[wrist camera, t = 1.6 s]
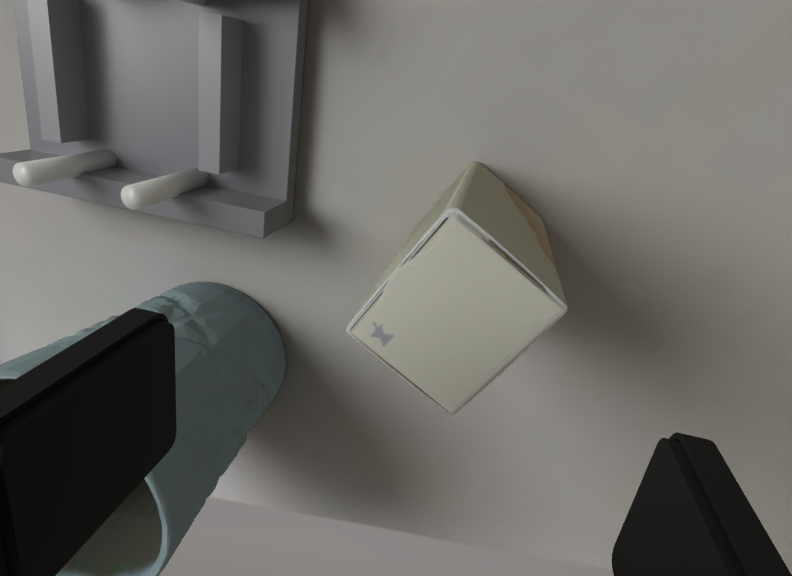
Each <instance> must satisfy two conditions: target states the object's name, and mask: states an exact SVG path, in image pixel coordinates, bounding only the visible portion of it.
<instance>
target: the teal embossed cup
mask: <svg viewBox="0 0 792 576" xmlns="http://www.w3.org/2000/svg"><path fill="white" fill-rule="evenodd" d="M136 308H140V309H145V310H149V311H153V312H158V313H162V314H164V315H165V316H166V317H167V319H168V322H169V323H171V324H173V326H174V330H175V374H176V429H177V432H176V438H175V441H174V444H173V446H172V448H171V449H170V451H169V452H168V453H167V454H166V455H165V456H164V457H163V459H162V460H161V461H160V462H159V463H158V464H157V465H156V466H155V467H154V468H153V469H152V471H151V472H150V473H149V474H148V475H147V476H146V477H145V478H144V479H143V480H142V482H141V483H140V484H139V485H138V486H137V487H136V488H135V489H134V490H133V491H132V492H131V494H130V495H129V496H128V497H127V498H126V499H125V500H124V501H123V502H122V503H121V505H120V506H119V507H118V508H117V509H116V510H115V511H114V512H113V513H112V514H111V515H110V517H109V518H108V519H107V520H106V521H105V522H104V523H103V524H102V525H101V526H100V528H99V529H98V530H97V531H96V532H95V533H94V534H93V535H92V536H91V537H90V538H89V540H88V541H87V542H86V543H85V544H84V545H83V546H82V547H81V548H80V549H79V551H78V552H77V553H76V554H75V555H74V556H73V557H72V558H71V559H70V560H69V561H68V563H67V564H66V565H65V566H64V567H63V568H62V569H61V570H60V571H59V572H58V574H57V575H56V576H158V575H159V574H160V573H161V572H162V570H163V569H164V568H165V566H166V565H167V563H168V561H169V560H170V558H171V557H172V555H173V553H174V551H175V550H176V549H177V547H178V545H179V544H180V542H181V541H182V539H183V537H184V536H185V534H186V532H187V531H188V529H189V528H190V526H191V524H192V522H193V521H194V519H195V517H196V516H197V515H198V513H199V512H200V510H201V508H202V507H203V505H204V504H205V500H206V498H207V497H208V496H210V495H211V493H212V492H213V490H214V489H215V487H216V485H217V482H218V480H219V477H220V476H221V475H223V473H224V472H225V471H226V470H227V468H228V466H229V465H230V463H231V462H232V461H233V460H234V458H235V457H236V456H237V454H238V451H239V450H240V448H241V447H242V446H243V445H244V443H245V441H246V433H247V432H248V431H249V430H250V429H252V428H253V427H255V425H256V423H257V422H258V420H259V419H260V418H261V417H262V415H263V413H264V412H265V411H266V410H267V408H268V406H269V405H270V404H271V402H272V401H273V399H274V398H275V396H276V395H277V393H278V391H279V390H280V388H281V385H282V382H283V379H284V375H285V370H286V353H285V348H284V344H283V341H282V338H281V335H280V333H279V331H278V329H277V327H276V325H275V324H274V322H273V321H272V320H271V318H270V317H269V315H268V314H267V313H266V312H265V310H264V309H262V308H261V307H260V306H259V305H258V304H257V303H256V302H255V301H253V300H252V299H251V298H249V297H248V296H247V295H245V294H243V293H242V292H240V291H238V290H236V289H233V288H231V287H229V286H226V285H223V284H219V283H212V282H194V283H188V284H184V285H180V286H178V287H175V288H173V289H171V290H169V291H167V292H164V293H163V294H161V295H160V296H157V297H154V298H152V299H151V300H149V301H145V302H143V303H142V304H140V305H139V306H137V307H136ZM126 312H127V311H126ZM126 312H125V313H126ZM117 317H119V316H112V317H110V318H108V319H107V320H105V321H101V322H99V323H97V324H95V325H92V326H91V327H90V328H86V329H83V330H80V331H79V332H77V333H76V335H74V336H69V337H65V338H62V339H60V340H58V341H56V342H54V343H52V344H49V345H48V346H46V347H43V348H40V349H38V350H35V351H33V352H30V353H27V354H25V355H22V356H20V357H18V358H15V359H13V360H10V361H8V362H5V363H3V364H1V365H0V388H1V387H3V386H5V385H6V384H8V383H10V382H11V381H13V380H15V379H16V378H18V377H20V376H21V375H23V374H25V373H26V372H28V371H30V370H31V369H33V368H35V367H36V366H38V365H40V364H41V363H43V362H44V361H46V360H48V359H49V358H51V357H53V356H54V355H56V354H58V353H59V352H61V351H63V350H64V349H66V348H68V347H69V346H71V345H73V344H74V343H76V342H78V341H79V340H81V339H83V338H84V337H86V336H88V335H89V334H91V333H93V332H94V331H96V330H98V329H99V328H101V327H102V326H104V325H106V324H107V323H109V322H111V321H112V320H114V319H116V318H117Z"/></svg>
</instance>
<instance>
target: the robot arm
mask: <svg viewBox="0 0 792 576" xmlns="http://www.w3.org/2000/svg"><path fill="white" fill-rule="evenodd" d="M176 432H177V429H176V374H175V330H174V326H173V324H171V323H169V322H168V319H167V317H166V316H165V315H164V314H162V313H158V312H153V311H149V310H145V309H140V308H133V309H131V310H129V311H127V312H126V313H124V314H122V315H121V316H119V317H117V318H116V319H114V320H112V321H111V322H109V323H107V324H106V325H104V326H102V327H101V328H99V329H98V330H96V331H94V332H93V333H91V334H89V335H88V336H86V337H84V338H83V339H81V340H79V341H78V342H76V343H74V344H73V345H71V346H69V347H68V348H66V349H64V350H63V351H61V352H59V353H58V354H56V355H54V356H53V357H51V358H49V359H48V360H46V361H44V362H43V363H41V364H40V365H38V366H36V367H35V368H33V369H31V370H30V371H28V372H26V373H25V374H23V375H21V376H20V377H18V378H16V379H15V380H13V381H11V382H10V383H8V384H6V385H5V386H3V387H1V388H0V576H56V575H57V574H58V572H59V571H60V570H61V569H62V568H63V567H64V566H65V565H66V564H67V563H68V561H69V560H70V559H71V558H72V557H73V556H74V555H75V554H76V553H77V552H78V551H79V549H80V548H81V547H82V546H83V545H84V544H85V543H86V542H87V541H88V540H89V538H90V537H91V536H92V535H93V534H94V533H95V532H96V531H97V530H98V529H99V528H100V526H101V525H102V524H103V523H104V522H105V521H106V520H107V519H108V518H109V517H110V515H111V514H112V513H113V512H114V511H115V510H116V509H117V508H118V507H119V506H120V505H121V503H122V502H123V501H124V500H125V499H126V498H127V497H128V496H129V495H130V494H131V492H132V491H133V490H134V489H135V488H136V487H137V486H138V485H139V484H140V483H141V482H142V480H143V479H144V478H145V477H146V476H147V475H148V474H149V473H150V472H151V471H152V469H153V468H154V467H155V466H156V465H157V464H158V463H159V462H160V461H161V460H162V459H163V457H164V456H165V455H166V454H167V453H168V452H169V451H170V449H171V448H172V446H173V444H174V441H175V438H176ZM612 568H613V573H614V576H792V575H791V573H790V572H789V570H788V568H787V566H786V565H785V563H784V561H783V560H782V558H781V556H780V554H779V553H778V551H777V549H776V548H775V546H774V544H773V543H772V541H771V539H770V537H769V536H768V534H767V532H766V531H765V529H764V527H763V525H762V524H761V522H760V520H759V519H758V517H757V515H756V513H755V512H754V510H753V508H752V507H751V505H750V503H749V501H748V500H747V498H746V496H745V495H744V493H743V491H742V489H741V488H740V486H739V484H738V483H737V481H736V479H735V478H734V476H733V474H732V472H731V471H730V469H729V467H728V466H727V464H726V462H725V460H724V459H723V457H722V455H721V454H720V452H719V450H718V448H717V447H716V445H715V444H714V443H713V442H712V441H710V440H707V439H703V438H699V437H694V436H690V435H686V434H681V433H674V434H673V435H672V436H671V437H670V439H667V438H662V439H661V440H660V441H659V442H658V444H657V446H656V448H655V451H654V453H653V456H652V458H651V460H650V463H649V465H648V467H647V470H646V472H645V474H644V477H643V479H642V482H641V484H640V486H639V489H638V491H637V493H636V496H635V498H634V500H633V503H632V505H631V508H630V510H629V512H628V515H627V517H626V519H625V522H624V524H623V526H622V529H621V531H620V534H619V536H618V538H617V541H616V543H615V546H614V549H613V554H612Z"/></svg>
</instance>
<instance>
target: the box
mask: <svg viewBox="0 0 792 576" xmlns="http://www.w3.org/2000/svg"><path fill="white" fill-rule="evenodd" d="M567 311H568V306H567V303H566V299H565V295H564V292H563V288H562V285H561V281H560V278H559V275H558V271H557V268H556V264H555V260H554V257H553V254H552V250H551V247H550V244H549V240H548V236H547V233H546V229H545V226H544V222H543V220H542V218H541V217H540V216H539V215H538V214H537V213H536V212H535V211H534V210H532V209H531V208H530V207H529V206H528V205H527V204H526V203H525V202H524V201H523V200H522V199H521V198H520V197H519V196H517V195H516V194H515V193H514V192H513V191H512V190H511V189H510V188H509V187H507V186H506V185H505V184H504V183H503V182H502V181H501V180H500V179H498V178H497V177H496V176H495V175H494V174H493V173H491V172H490V171H489V170H488V169H487V168H485V167H484V166H483V165H482V164H481V163H479V162H473V163H472V164H471V165H470V166H469V167H468V168H467V169H466V170H465V171H464V172H463V173H462V174H461V176H460V177H459V178H458V179H457V180H456V181H455V182H454V183H453V185H452V186H451V187H450V188H449V189H448V190H447V191H446V193H445V194H444V195H443V196H442V197H441V198H440V200H439V201H438V202H437V203H436V204H435V206H434V207H433V208H432V209H431V210H430V212H429V213H428V214H427V215H426V216H425V218H424V219H423V220H422V221H421V223H420V224H419V225H418V226H417V228H416V229H415V230H414V231H413V233H412V234H411V235H410V236H409V238H408V239H407V241H406V242H405V244H404V245H403V246H402V248H401V249H400V251H399V252H398V254H397V255H396V256H395V258H394V259H393V260H392V262H391V263H390V265H389V266H388V267H387V269H386V270H385V272H384V273H383V275H382V276H381V278H380V279H379V280H378V282H377V283H376V285H375V286H374V288H373V289H372V290H371V292H370V293H369V295H368V296H367V298H366V299H365V301H364V302H363V304H362V305H361V307H360V308H359V310H358V311H357V313H356V314H355V316H354V317H353V319H352V320H351V322H350V323H349V325H348V326H347V333H348V334H349V335H350V336H351V337H353V338H354V339H355V340H356V341H358V342H359V343H360V344H361V345H362V346H364V347H365V348H366V349H367V350H368V351H370V352H371V353H372V354H373V355H374V356H375V357H377V358H378V359H379V360H380V361H382V362H383V363H384V364H385V365H387V366H388V367H389V368H390V369H391V370H393V371H394V372H395V373H396V374H398V375H399V376H400V377H401V378H402V379H404V380H405V381H406V382H408V383H409V384H410V385H412V386H413V387H414V388H415V389H417V390H418V391H419V392H420V393H422V394H423V395H424V396H426V397H427V398H428V399H430V400H431V401H432V402H434V403H435V404H436V405H437V406H439V407H440V408H441V409H442V410H443V411H445V412H446V413H448V414H450V415H453V414H455V413H456V412H458V411H459V410H460V409H461V408H462V407H464V406H465V405H466V404H467V403H468V402H470V401H471V400H472V399H473V398H474V397H475V396H476V395H478V394H479V393H480V392H481V391H482V390H483V389H485V388H486V387H487V386H488V385H489V384H490V383H491V382H493V381H494V380H495V379H496V378H497V377H498V376H499V375H500V374H502V373H503V372H504V371H505V370H506V369H507V368H508V367H509V366H510V365H511V364H512V363H513V362H514V361H516V360H517V359H518V358H519V357H520V356H521V355H522V354H523V353H524V352H525V351H526V350H527V349H528V348H530V347H531V346H532V345H533V344H534V343H535V342H536V341H537V340H538V339H539V338H540V337H541V336H542V335H544V334H545V333H546V332H547V331H548V330H549V329H550V328H551V327H552V326H553V325H554V324H555V323H556V322H557V321H558V320H559V319H560V318H561V317H562V316H564V315H565V314H566V312H567Z"/></svg>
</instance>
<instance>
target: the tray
mask: <svg viewBox="0 0 792 576" xmlns="http://www.w3.org/2000/svg"><path fill="white" fill-rule="evenodd" d="M308 1H309V0H13V6H14V14H15V22H16V31H17V39H18V47H19V55H20V64H21V72H22V80H23V89H24V97H25V105H26V113H27V122H28V130H29V138H30V147H31V150H23V151H16V152H8V153H1V154H0V182H2V183H7V184H12V185H16V186H21V187H26V188H31V189H35V190H40V191H45V192H49V193H54V194H59V195H63V196H68V197H73V198H77V199H82V200H87V201H91V202H96V203H101V204H105V205H110V206H115V207H119V208H124V209H129V210H134V211H138V212H143V213H148V214H152V215H157V216H162V217H166V218H171V219H176V220H180V221H185V222H190V223H194V224H199V225H204V226H208V227H213V228H218V229H222V230H227V231H232V232H237V233H241V234H246V235H251V236H255V237H260V238H264V237H266V236H268V235H269V234H271V233H273V232H274V231H276V230H277V229H279V228H281V227H282V226H284V225H286V224H287V223H289V222H291V221H292V220H293V208H294V194H295V180H296V167H297V153H298V139H299V125H300V111H301V98H302V84H303V70H304V56H305V42H306V29H307V15H308Z"/></svg>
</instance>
